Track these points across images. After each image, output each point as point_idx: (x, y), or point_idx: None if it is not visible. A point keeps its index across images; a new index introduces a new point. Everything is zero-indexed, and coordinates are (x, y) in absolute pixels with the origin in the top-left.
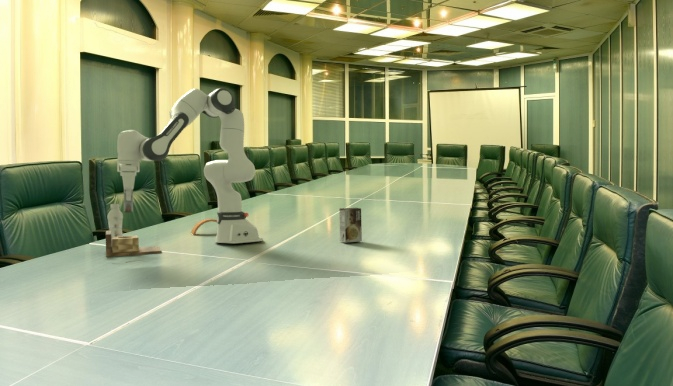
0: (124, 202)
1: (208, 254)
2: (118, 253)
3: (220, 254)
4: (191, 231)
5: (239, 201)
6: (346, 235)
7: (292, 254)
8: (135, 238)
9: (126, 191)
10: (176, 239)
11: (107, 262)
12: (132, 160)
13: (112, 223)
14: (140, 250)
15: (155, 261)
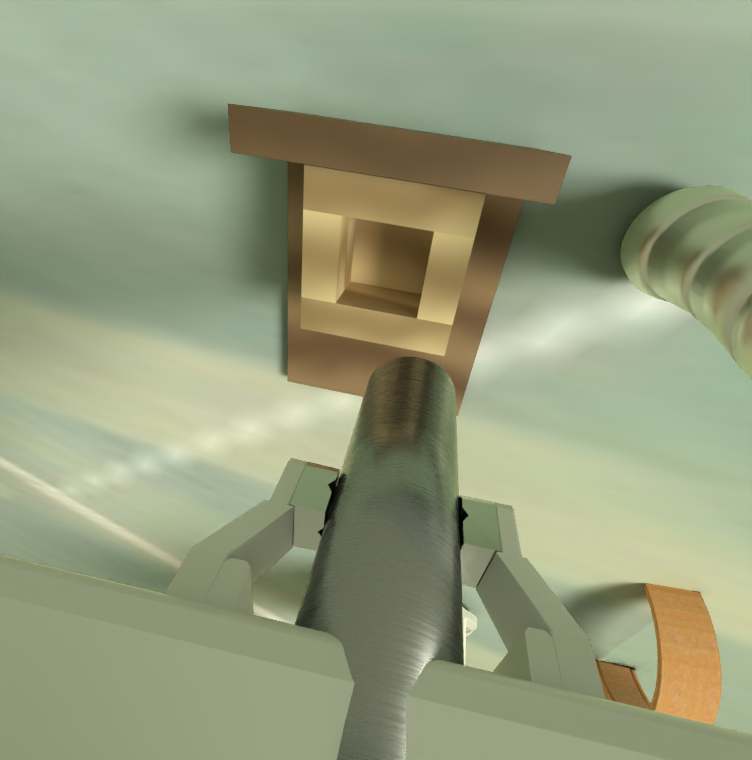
0: (379, 430)
1: (188, 470)
2: (290, 189)
3: (176, 490)
4: (709, 629)
5: None
6: None
7: (122, 577)
8: (301, 311)
9: (183, 566)
10: (732, 556)
11: (88, 91)
12: None
13: (745, 256)
14: None
15: (76, 296)
